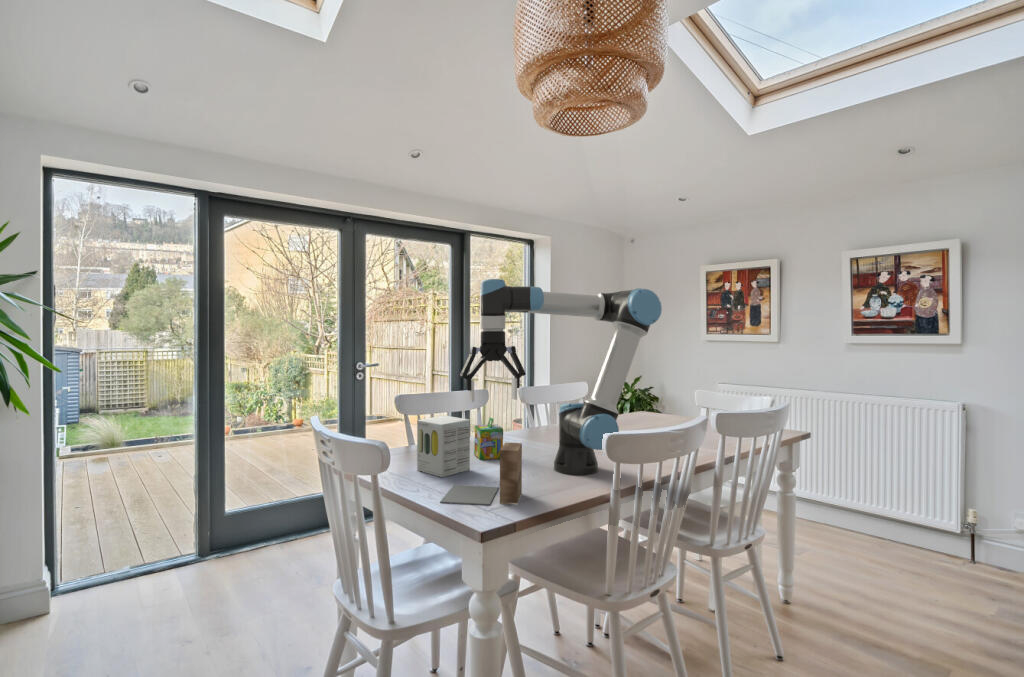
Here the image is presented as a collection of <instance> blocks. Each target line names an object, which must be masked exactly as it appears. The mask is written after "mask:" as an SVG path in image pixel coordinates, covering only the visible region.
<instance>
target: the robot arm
mask: <svg viewBox="0 0 1024 677" xmlns="http://www.w3.org/2000/svg"><path fill="white" fill-rule="evenodd" d="M479 292H480V293H479V297H480V298H479V299H480V301H479V302H480V329H481V330H482V331H481V332H480V346H479V347H476V346H470V348H469V349H470V350H469V355H468V357H467V359H466V361H465V364H464V365H463V367H462V369H461V372H460V374H459V377H460V378H462V379H465V382H466V383H465V386H466V387H465V389H466V391H468V392H469V393H468V394H469V400H468V401H469V402H471V403H474V402H475V379H473V378H474V376H476V374H477V372H478V371H480V369H481V368H482V366H483V365H484V364H486V362H494V361H495V362H502V364H503V365H504V367H506V368H507V370H508V371H509V372H510V373H511V374H512V376H513V377H511V399H512V400H515V401H516V400H518V389H519V388H520V386H521V384H520V383H521V378H522V377H524V376H526V374H527V373H526V370H525V369H524V367H523V365H522V362H521V360H520V359H519V357H518V355H517V351H516V350H517V349H516V346H515V345H510V346H507V345H506V332H505V331H504V330H505V329H506V313H511V314H512V313H523V314H526V313H527V314H540V315H541V314H542V315H556V316H569V317H570V316H572V317H586V318H587V317H588V318H593V319H594V320H595V321H599V322H600V321H602V322H608V323H612V325H613V327H614V328H615V329H614V332H613V335H612V338H611V340H610V344H609V346H608V349H607V352H606V354H605V356H604V359H603V363H602V365H601V367H600V372H599V374H598V377H597V379H596V382H595V385H594V388H593V390H592V393H591V396H590V397H589V398H587V399H585V400H584V402H573V403H571V402H570V403H561V405H560V406H559V412H558V418H559V419H558V420H559V423H558V424H559V425H558V426H559V428H558V432H559V433H558V435H559V438H558V440H559V441H558V442H559V444H558V449H557V453H556V456H555V458H554V462H553V469H554V470H555V471H556V472H559V473H562V474H566V475H577V476H579V475H580V476H581V475H590V474H595V473H597V472H598V470H599V463H598V460H597V457H596V452H595V450H597V451H601V450H603V449H602V439H603V434H605V433H613V432H620V431H619V430H620V429H619V425H618V421H617V420H618V417H619V414H620V412H619V410H618V409H617V405H618V402H619V400H620V397H621V395H622V391H623V389H624V386H625V384H626V380H627V376H628V375H629V371H630V370H631V366H632V364H633V360H634V357H635V355H636V352H637V349H638V346H639V343H640V341H641V339H642V338H643V337H645V336H647V335H648V332H649V331H650V330H649V329H650V326H652V325H654V324H655V323H656V322H657V321H658V320H660V317H661V315H662V308H663V307H662V302H661V301H660V298H659V296H658V295H657V294H656V293H655V292H654V291H653V290H650V289H647V288H635V289H630V290H629V289H628V290H621V291H616V292H615V291H614V292H605V293H604V292H597V293H596V294H595V295H592V294H580V293H579V294H578V293H568V292H567V293H565V292H555V291H543V289H542V287H539V286H532V285H531V286H510V285H506V281H505V280H504V279H502V278H487V279H483V280H481V282H480V291H479ZM478 353H480V354H481V356H480V357H479V358H478V360H477V362H476V363H475V364H474V365H473V367H472V364H473V362H474V361H475V358H476V356H477V355H478ZM506 353H508V354H509V355H510V357H511V359H512V361H513V364H514V365H515V367H516V368H515V367H514V366H513V364H512V363H511V362H510V361H509V360H508V358H507V357H506V355H505V354H506ZM471 367H472V368H471ZM470 369H471V370H470Z"/></svg>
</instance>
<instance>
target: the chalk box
mask: <svg viewBox="0 0 1024 677" xmlns="http://www.w3.org/2000/svg"><path fill="white" fill-rule="evenodd" d="M493 423H494V418H492V417H489V419H488V422H487V424H480V425H479V424H475V425H474V446H473V447H474V449H473V451H474V452H473V454H474V456H475V457H476V458H477V459H478V460H480V461H482V460H483V461H486V460H500V449H501V448H502V446H503V445H504V428H503V427H502V426H500V425H499V424H493Z"/></svg>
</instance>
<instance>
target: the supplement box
mask: <svg viewBox="0 0 1024 677" xmlns="http://www.w3.org/2000/svg"><path fill="white" fill-rule="evenodd" d="M416 434H417V435H416V436H417V438H416V439H417V440H416V443H417V445H416V448H417V449H416V450H417V452H416V453H417V454H416V456H417V458H416V465H417V466H416V470H417V471H418V472H421V471H422V473H426V474H429V475H432V474H433V476H437V477H439V476H440V477H441V478H443V477H447V476H448V477H449V476H452V475H455V474H459V472H460V473H463V472H467V471H470V468H471V466H470V465H471V463H470V461H471V456H470V455H471V453H470V452H471V451H470V450H471V420H470V419H468V418H461V417H455V416H451V415H450V416H449V415H439V416H434V417H433V416H432V417H428V418H422V419H417V420H416Z"/></svg>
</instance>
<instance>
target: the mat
mask: <svg viewBox="0 0 1024 677" xmlns="http://www.w3.org/2000/svg"><path fill="white" fill-rule="evenodd" d="M499 490H500V486H487V485H486V486H483V485H458V484H454V485H452V487H451V488H450V489H449V490H448V492H447V493H446V494H445V495H444V496H443V497H442V499H441V500H440V501H439V503H440V502H441V503H440V504H450V503H452V504H451V505H456V504H457V505H472V506H491V503H492V502H493V499H494V498H495V496H496V494H497V492H498V491H499Z"/></svg>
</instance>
